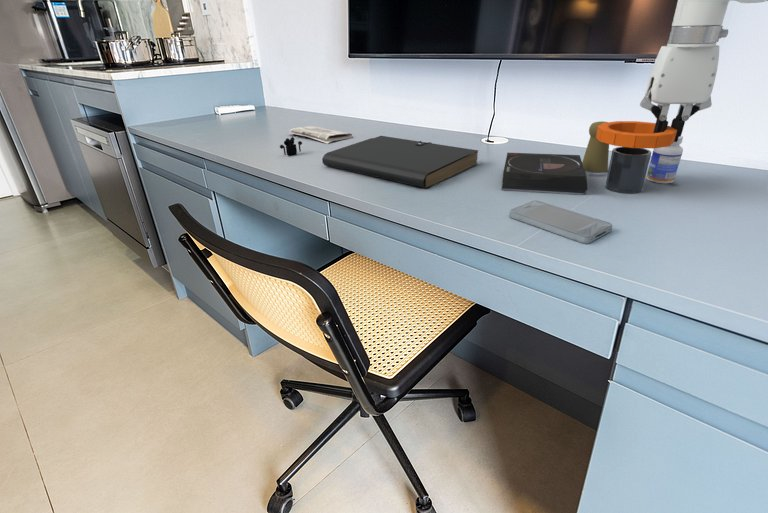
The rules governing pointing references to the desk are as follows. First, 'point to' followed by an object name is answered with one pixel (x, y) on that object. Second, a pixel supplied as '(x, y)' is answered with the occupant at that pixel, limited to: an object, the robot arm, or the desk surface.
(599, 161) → the olive pawn
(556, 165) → the portable cd player
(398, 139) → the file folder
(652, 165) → the pill bottle
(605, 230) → the phone
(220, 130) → the desk surface
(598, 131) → the ring
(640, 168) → the cup
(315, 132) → the newspaper
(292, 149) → the wireless earbuds
